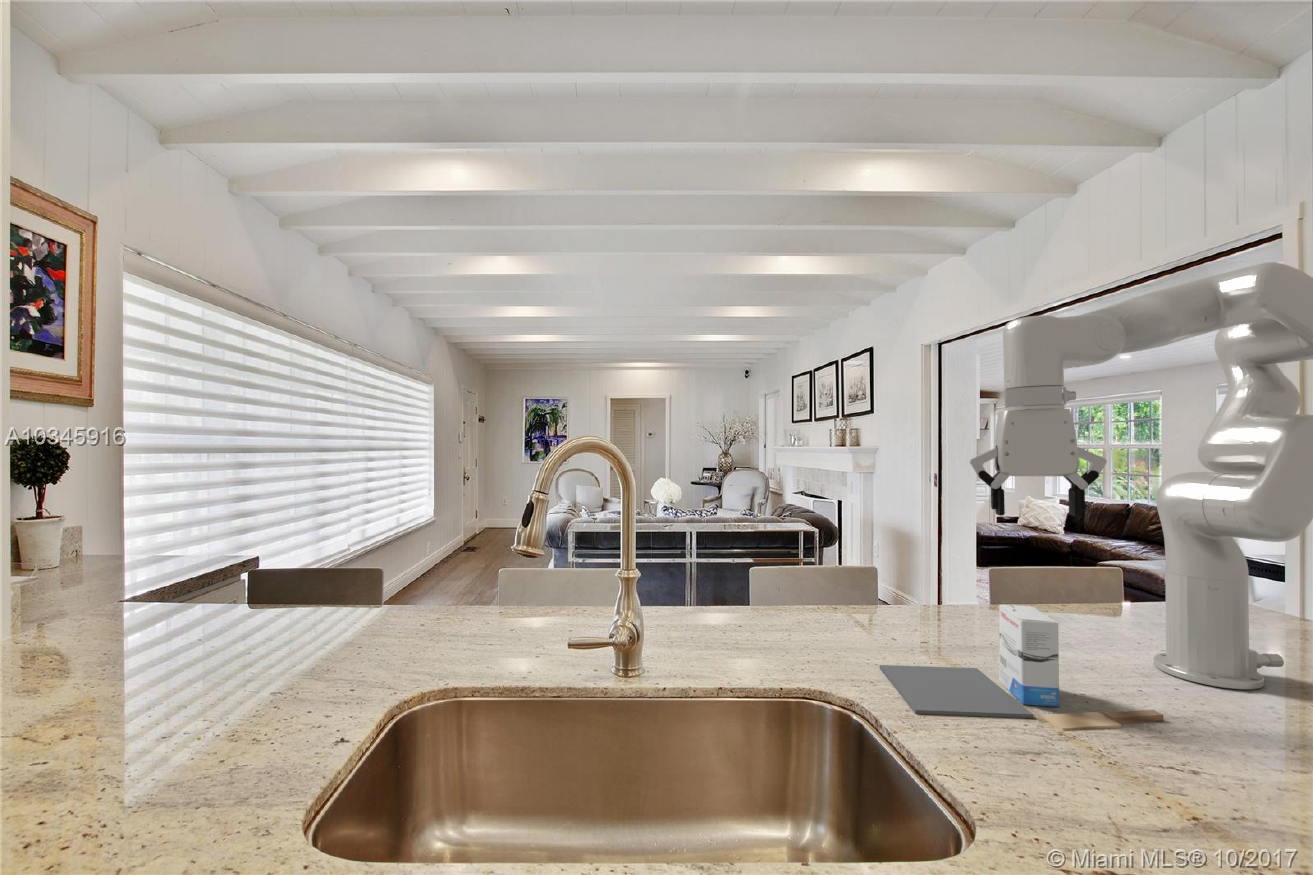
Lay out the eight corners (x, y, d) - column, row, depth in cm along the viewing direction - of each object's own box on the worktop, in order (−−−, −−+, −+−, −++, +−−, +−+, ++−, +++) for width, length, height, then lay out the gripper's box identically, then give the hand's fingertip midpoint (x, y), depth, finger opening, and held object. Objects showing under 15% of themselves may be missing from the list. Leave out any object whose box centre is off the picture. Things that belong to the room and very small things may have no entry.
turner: (1145, 712, 78) (1145, 706, 78) (1171, 725, 75) (1171, 718, 75) (1041, 718, 77) (1041, 712, 77) (1062, 731, 73) (1062, 725, 73)
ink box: (1060, 708, 80) (1060, 621, 80) (1021, 705, 81) (1020, 619, 81) (1033, 683, 88) (1033, 605, 88) (998, 680, 89) (997, 603, 89)
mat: (976, 671, 93) (976, 668, 93) (1033, 718, 77) (1033, 714, 77) (879, 668, 94) (879, 665, 94) (915, 713, 78) (915, 709, 78)
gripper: (1094, 399, 88) (1097, 513, 88) (965, 404, 94) (967, 511, 94) (1113, 396, 81) (1116, 520, 81) (972, 401, 87) (975, 516, 87)
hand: (1036, 515), depth 87 cm, fingers open, 9 cm apart
